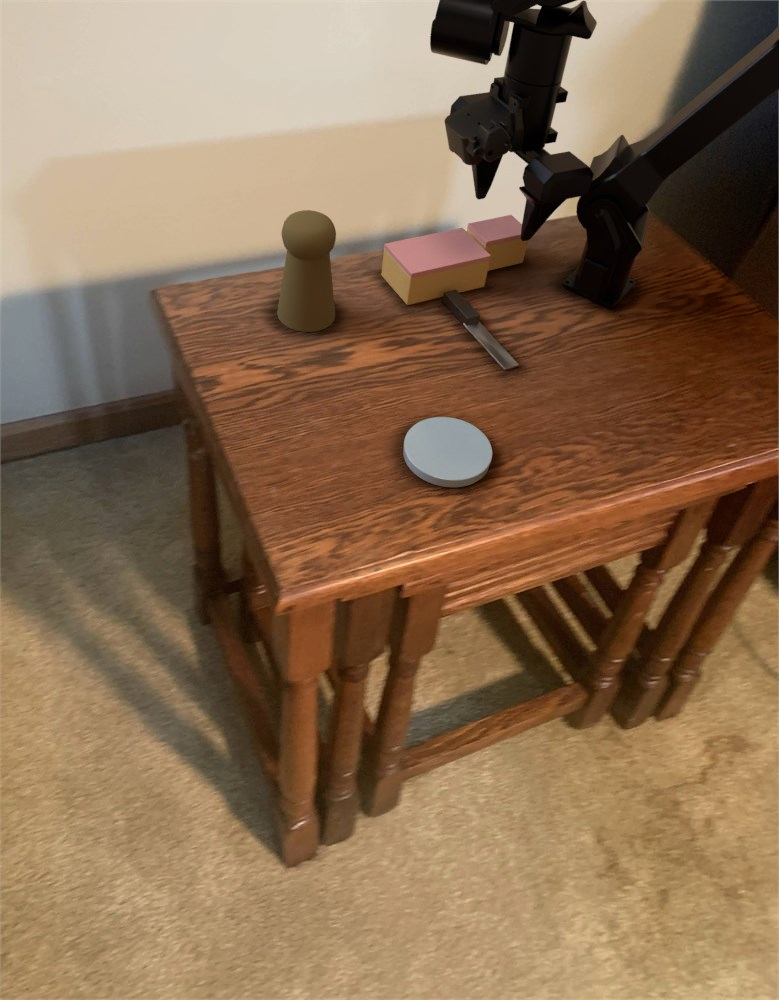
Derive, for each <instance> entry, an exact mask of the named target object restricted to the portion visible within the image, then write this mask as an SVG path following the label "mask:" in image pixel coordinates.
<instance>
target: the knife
mask: <svg viewBox="0 0 779 1000" xmlns="http://www.w3.org/2000/svg"><path fill="white" fill-rule="evenodd" d="M442 303H443V304H444V306H446V308H447V309H448V310H449V311H450V312H451V313H452V314H453V315H454V316H455V318H457V320H458V321H459V322H460V323H461V324H462V326H463V327H464V328H465V330H466V331H467V332H468V333H469V334H470V335H471V336H472V337H473V339H475V341H476V342H477V343H478V344H479V345H480V346H481V347H482V349H483V350H485V352H486V353H487V354H488V355H489V356H490V357H491V359H492V360H494V362H495V363H496V364H497V365H498V366H499V367H500V369H502V371H503V372H506V371H509V370H513V369H516V368H519V366H520V364H519V363H518V361H516V359H515V358H513V356H511V354H510V353H509V352H508V351H507V350H506V349H505V347H504V346H503V345H502V344H501V343H500V342H499V341H498V340H497V339H496V338H495V336H493V335H492V333H490V332H489V330H488V329H487V328H486V327H485V326H484V325H483V324H482V323H481V322H480V319H481V314H479V312H478V311H477V310H476V309H475V308H474V307H473V306H472V305H471V304H470V303H469V302H468V301H467V299H466V298H465V297H464V296H463V295H462V294H461V292H460V293H459V292H458V291H457V290H451V291H447V292H444V294H443V297H442Z"/></svg>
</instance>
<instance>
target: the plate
mask: <svg viewBox="0 0 779 1000" xmlns="http://www.w3.org/2000/svg"><path fill="white" fill-rule="evenodd" d="M402 457H403V459H404V462H405V464H406V466H407V467H408V469H409V470H410V471H411V472H412V473H413V474H414V475H416V476H417V477H418V478H419V479H421V480H423V481H424V482H427V483H429V484H432V485H435V486H438V487H443V488H463V487H467V486H471V485H473V484H475V483H477V482H478V481H480V480H481V479H483V478H484V477H485V476H486V475H487V473H488V471H489V470H490V467H491V464H492V459H493V447H492V445H491V442H490V440H489V438H488V437H487V436H486V434H485V433H484V432H483V431H482V430H481V429H479V428H478V427H477V426H475V425H473V424H472V423H469V422H467V421H465V420H462V419H460V418H456V417H449V416H433V417H428V418H426V419H422V420H420V421H418V422H417V423H415V424H414V425H412V426H411V427H410V428H409V430H408V431H407V433H406V435H405V436H404V441H403V446H402Z"/></svg>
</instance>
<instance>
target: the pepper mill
mask: <svg viewBox="0 0 779 1000" xmlns="http://www.w3.org/2000/svg"><path fill="white" fill-rule="evenodd" d="M336 240H337V231H336V227H335V224H334V222H333V220H332V219H331V218H330V217H329V216H328V215H326V214H325V213H323V212H320V211H316V210H311V209H305V210H304V209H303V210H298V211H295V212H293V213H290V214H289V215H288V216H287V217H286V219H285V220H284V221H283V225H282V227H281V241H282V244H283V246H284V248H285V250H286V256H285V260H284V268H283V274H282V279H281V285H280V294H279V297H278V298H279V299H278V305H277V311H276V314H277V318H278V321H280V323H281V324H282V325H283V326H285V327H287V328H288V329H291V330H294V331H296V332H304V333H313V332H319V331H322V330H323V331H324V330H326V329H327V328H328V327H330V326H331V325H332V324H333V323H334V322H335V319H336V308H335V296H334V287H333V286H334V285H333V276H332V265H331V263H332V262H331V255H330V253H331V251H332V250H333V249H334V248H335V244H336Z"/></svg>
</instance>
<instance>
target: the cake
mask: <svg viewBox="0 0 779 1000" xmlns="http://www.w3.org/2000/svg"><path fill="white" fill-rule="evenodd" d="M383 248H384V249H383V255H382V256H383V257H382V266H381V277H382V278H383V279H384V281H386V283H387V284H388V285H389V287H391V288H392V290H393V291H394V292H395V293H396V294H397V296H398V297H399V298H400V299H401V300H402V301H403V302H404V303H405V304H406V305H405V306H410V305H415V304H419V303H423V302H428V301H431V300H435V299H439V298H443V294H444V292H447V291H451V290H457V291H458V292H459V293H460V294H461V293H464V292H468V291H472V290H473V291H474V290H476V289H480V288H485V286H486V282H487V281H486V279H487V275H488V272H489V271H488V267H489V262H490V258H491V255H490V254H489V253H488V252H487V251H486V250H485V249H484V248H483V247H482V246H481V245H480V244H479V243H478V242H477V241H475V240H474V239H473V238H472V237H471V236H470V235H469V234H468V233H467V230H466V229H465V228H464V227H459V228H453V229H449V230H444V231H440V232H435V233H430V234H424V235H419V236H416V237H411V238H405V239H401V240H400V239H399V240H396V241H391V242H386V243H384V245H383Z"/></svg>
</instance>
